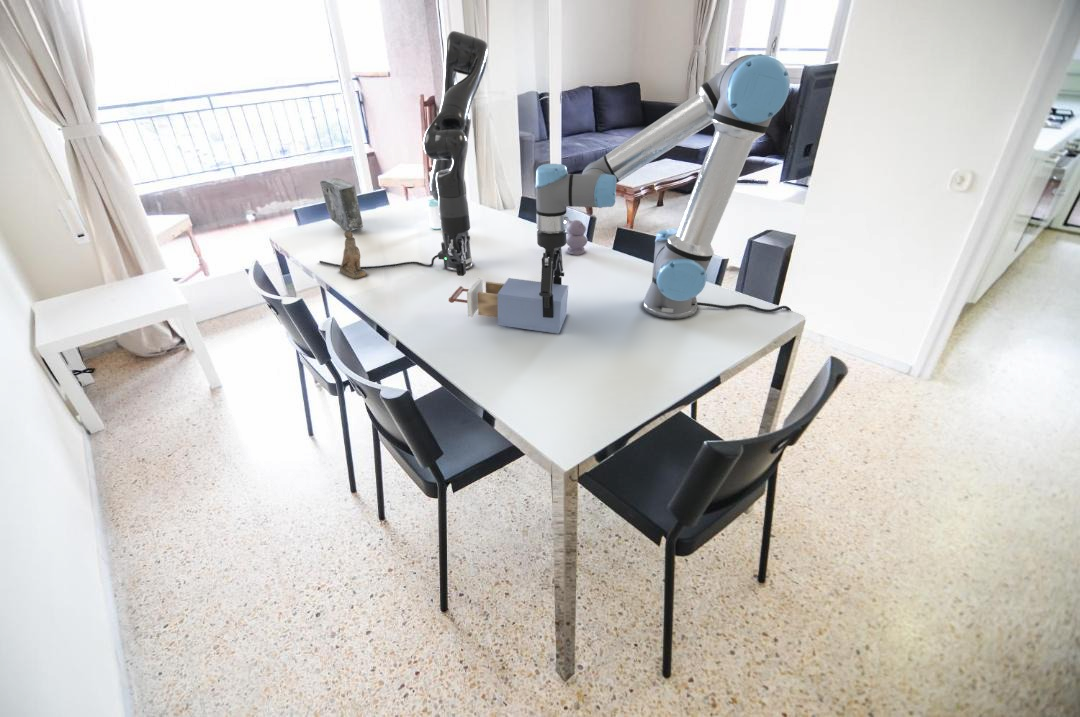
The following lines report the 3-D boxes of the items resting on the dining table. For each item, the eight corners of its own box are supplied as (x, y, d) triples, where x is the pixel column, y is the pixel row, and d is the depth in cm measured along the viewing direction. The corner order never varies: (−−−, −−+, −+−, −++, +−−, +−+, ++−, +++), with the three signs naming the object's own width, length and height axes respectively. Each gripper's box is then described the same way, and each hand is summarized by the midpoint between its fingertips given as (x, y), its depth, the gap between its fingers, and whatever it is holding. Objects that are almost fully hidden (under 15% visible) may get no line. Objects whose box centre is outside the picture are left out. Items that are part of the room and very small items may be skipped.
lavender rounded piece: (591, 251, 189) (592, 220, 183) (578, 257, 185) (578, 225, 178) (574, 246, 195) (574, 216, 188) (561, 252, 190) (560, 221, 183)
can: (445, 229, 220) (441, 202, 214) (429, 230, 220) (425, 202, 214) (447, 224, 226) (444, 198, 220) (432, 225, 226) (428, 198, 220)
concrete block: (368, 232, 220) (358, 186, 209) (348, 237, 216) (336, 189, 205) (349, 220, 239) (338, 176, 228) (330, 223, 234) (319, 179, 224)
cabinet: (497, 325, 138) (497, 293, 133) (508, 307, 147) (508, 277, 142) (558, 333, 135) (561, 302, 130) (566, 315, 144) (568, 285, 139)
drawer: (448, 313, 140) (446, 289, 136) (460, 299, 149) (459, 275, 144) (523, 324, 137) (523, 299, 133) (531, 308, 145) (532, 285, 141)
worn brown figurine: (368, 281, 178) (362, 235, 166) (353, 285, 175) (347, 238, 163) (352, 266, 184) (346, 221, 172) (338, 270, 181) (331, 224, 169)
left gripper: (458, 220, 123) (466, 285, 132) (476, 206, 134) (482, 266, 143) (430, 219, 125) (439, 283, 134) (450, 205, 136) (457, 265, 145)
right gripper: (557, 245, 116) (557, 328, 127) (573, 217, 135) (573, 291, 147) (526, 243, 117) (529, 325, 129) (546, 216, 136) (548, 289, 148)
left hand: (461, 274), depth 138 cm, fingers closed
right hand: (552, 307), depth 138 cm, fingers closed on cabinet, 11 cm apart
